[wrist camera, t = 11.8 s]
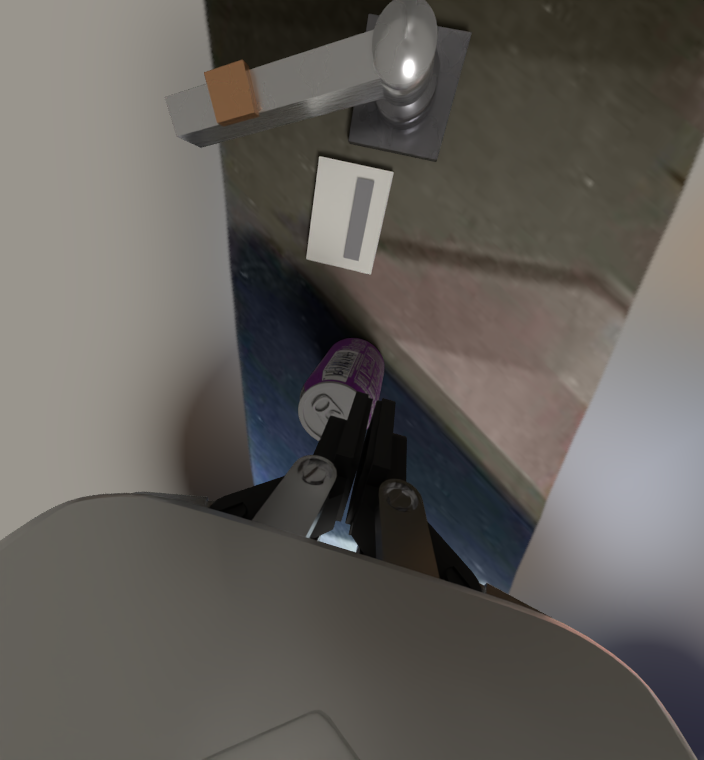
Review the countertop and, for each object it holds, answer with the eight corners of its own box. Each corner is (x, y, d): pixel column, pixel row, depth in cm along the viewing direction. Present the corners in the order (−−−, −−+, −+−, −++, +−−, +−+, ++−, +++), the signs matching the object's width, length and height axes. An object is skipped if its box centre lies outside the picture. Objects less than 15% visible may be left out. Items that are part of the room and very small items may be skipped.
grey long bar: (431, 24, 20) (436, -21, 17) (434, 98, 22) (439, 72, 19) (187, 100, 25) (152, 77, 21) (204, 158, 26) (173, 146, 23)
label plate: (320, 157, 28) (318, 155, 27) (393, 173, 28) (393, 171, 27) (307, 258, 32) (305, 259, 31) (371, 274, 32) (370, 274, 31)
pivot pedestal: (369, 20, 24) (364, -14, 21) (469, 38, 23) (479, 6, 20) (349, 143, 27) (342, 130, 24) (436, 161, 27) (439, 151, 24)
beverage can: (315, 362, 37) (277, 411, 26) (354, 323, 34) (330, 360, 23) (355, 401, 38) (335, 462, 27) (397, 366, 35) (392, 420, 25)
